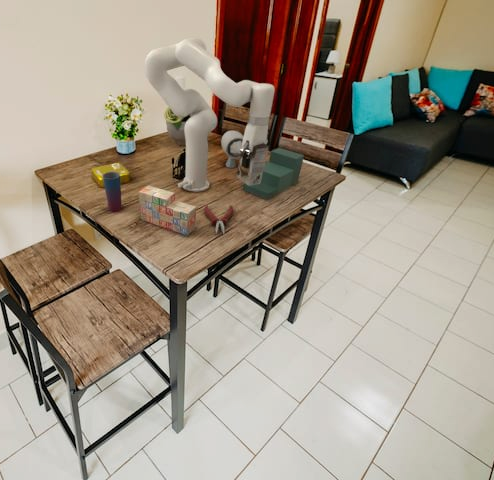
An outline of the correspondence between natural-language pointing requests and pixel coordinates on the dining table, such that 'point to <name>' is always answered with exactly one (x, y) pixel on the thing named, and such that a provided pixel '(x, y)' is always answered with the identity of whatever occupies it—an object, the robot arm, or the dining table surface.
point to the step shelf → (277, 173)
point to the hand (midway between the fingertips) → (251, 164)
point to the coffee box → (253, 165)
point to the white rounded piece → (232, 146)
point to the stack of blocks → (166, 210)
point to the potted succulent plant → (176, 126)
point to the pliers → (216, 221)
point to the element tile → (116, 167)
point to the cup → (113, 190)
